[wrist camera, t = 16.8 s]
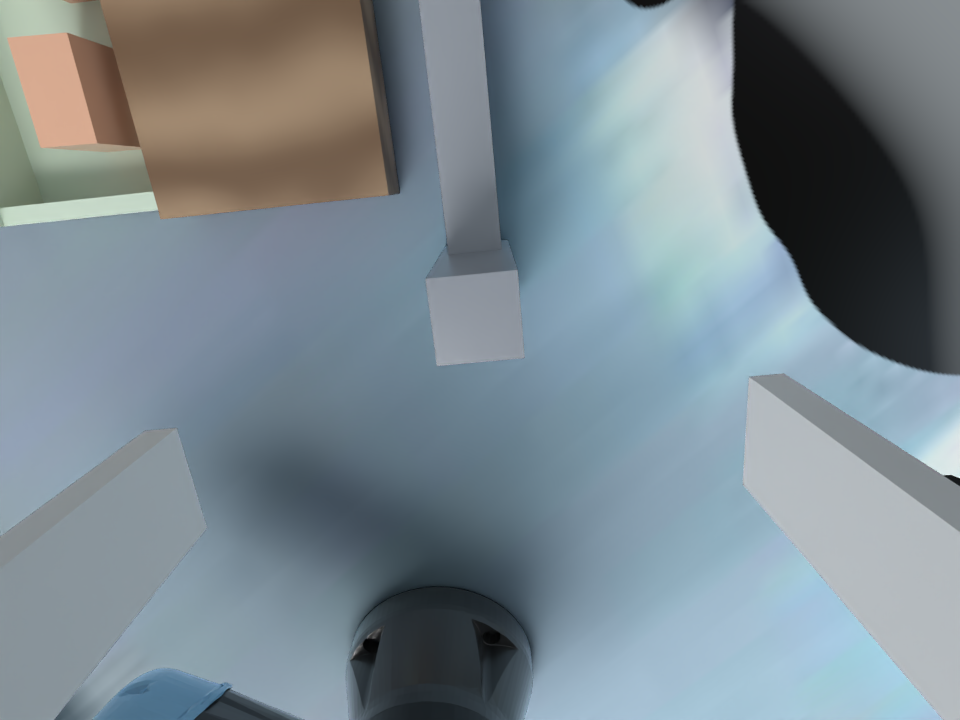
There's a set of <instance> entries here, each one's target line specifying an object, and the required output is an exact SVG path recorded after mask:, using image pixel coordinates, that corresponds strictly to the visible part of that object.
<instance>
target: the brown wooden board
mask: <svg viewBox="0 0 960 720" xmlns="http://www.w3.org/2000/svg"><path fill="white" fill-rule="evenodd" d="M100 4H101V7H102V11H103V15H104V18H105V22H106V25H107V29H108V32H109V36H110V40H111V43H112V47H113V50H114V54H115V57H116V61H117V65H118V68H119V72H120V75H121V79H122V82H123V86H124V90H125V93H126V97H127V100H128V104H129V108H130V111H131V115H132V118H133V122H134V125H135V129H136V133H137V136H138V140H139V143H140V147H141V150H142V154H143V158H144V161H145V165H146V168H147V172H148V175H149V179H150V183H151V186H152V190H153V193H154V197H155V201H156V204H157V208H158V211H159V215H160V218H161V219H168V218H178V217H187V216H197V215H206V214H216V213H225V212H235V211H244V210H254V209H263V208H272V207H282V206H291V205H301V204H310V203H320V202H329V201H339V200H348V199H358V198H367V197H377V196H386V195H393V194H399V193H400V192H399V185H398V178H397V171H396V164H395V157H394V150H393V143H392V135H391V128H390V121H389V114H388V107H387V100H386V93H385V86H384V79H383V72H382V65H381V58H380V50H379V43H378V36H377V29H376V22H375V15H374V8H373V1H372V0H100Z"/></svg>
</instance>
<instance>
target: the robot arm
mask: <svg viewBox="0 0 960 720" xmlns="http://www.w3.org/2000/svg"><path fill="white" fill-rule="evenodd" d="M743 486H744V487H745V488H746V489H747V490H748V491H749V493H750V494H751V495H752V496H753V497H754V498H755V500H756V501H757V502H758V503H759V504H760V506H761V507H762V508H763V509H764V510H765V511H766V513H767V514H768V515H769V516H770V517H771V518H772V520H773V521H774V522H775V523H776V524H777V525H778V527H779V528H780V529H781V530H782V531H783V533H784V534H785V535H786V536H787V537H788V538H789V540H790V541H791V542H792V543H793V544H794V545H795V547H796V548H797V549H798V550H799V551H800V553H801V554H802V555H803V556H804V557H805V558H806V560H807V561H808V562H809V563H810V564H811V565H812V567H813V568H814V569H815V570H816V571H817V573H818V574H819V575H820V576H821V577H822V578H823V580H824V581H825V582H826V583H827V584H828V585H829V587H830V588H831V589H832V590H833V591H834V592H835V594H836V595H837V596H838V597H839V598H840V600H841V601H842V602H843V603H844V604H845V605H846V607H847V608H848V609H849V610H850V611H851V612H852V614H853V615H854V616H855V617H856V618H857V620H858V621H859V622H860V623H861V624H862V625H863V627H864V628H865V629H866V630H867V631H868V632H869V634H870V635H871V636H872V637H873V638H874V639H875V641H876V642H877V643H878V644H879V645H880V647H881V648H882V649H883V650H884V651H885V652H886V654H887V655H888V656H889V657H890V658H891V659H892V661H893V662H894V663H895V664H896V665H897V667H898V668H899V669H900V670H901V671H902V672H903V674H904V675H905V676H906V677H907V678H908V679H909V681H910V682H911V683H912V684H913V685H914V686H915V688H916V689H917V690H918V691H919V692H920V694H921V695H922V696H923V697H924V698H925V699H926V701H927V702H928V703H929V704H930V705H931V706H932V708H933V709H934V710H935V711H936V712H937V714H938V715H939V716H940V717H941V718H942V719H943V720H960V478H957V477H955V476H952V475H944V476H943V475H941V474H940V473H938V472H937V471H935V470H934V469H932V468H930V467H929V466H927V465H926V464H924V463H923V462H921V461H920V460H918V459H916V458H915V457H913V456H912V455H910V454H909V453H907V452H905V451H904V450H902V449H901V448H899V447H898V446H896V445H895V444H893V443H891V442H890V441H888V440H887V439H885V438H884V437H882V436H881V435H879V434H877V433H876V432H874V431H873V430H871V429H870V428H868V427H867V426H865V425H863V424H862V423H860V422H859V421H857V420H856V419H854V418H852V417H851V416H849V415H848V414H846V413H845V412H843V411H842V410H840V409H838V408H837V407H835V406H834V405H832V404H831V403H829V402H828V401H826V400H824V399H823V398H821V397H820V396H818V395H817V394H815V393H814V392H812V391H810V390H809V389H807V388H806V387H804V386H803V385H801V384H799V383H798V382H796V381H795V380H793V379H792V378H790V377H789V376H787V375H785V374H773V375H762V376H751V377H749V385H748V402H747V419H746V436H745V453H744V470H743ZM206 529H207V526H206V522H205V519H204V516H203V513H202V509H201V506H200V503H199V499H198V496H197V493H196V489H195V486H194V483H193V479H192V476H191V473H190V470H189V466H188V463H187V460H186V456H185V453H184V450H183V446H182V443H181V440H180V436H179V433H178V430H177V428H170V429H159V430H147V431H144V432H143V433H141V434H140V435H138V436H137V437H136V438H134V439H133V440H132V441H130V442H129V443H127V444H126V445H125V446H123V447H122V448H121V449H119V450H118V451H117V452H115V453H114V454H112V455H111V456H110V457H108V458H107V459H106V460H104V461H103V462H102V463H100V464H99V465H97V466H96V467H95V468H93V469H92V470H91V471H89V472H88V473H86V474H85V475H84V476H82V477H81V478H80V479H78V480H77V481H76V482H74V483H73V484H71V485H70V486H69V487H67V488H66V489H65V490H63V491H62V492H61V493H59V494H58V495H56V496H55V497H54V498H52V499H51V500H50V501H48V502H47V503H45V504H44V505H43V506H41V507H40V508H39V509H37V510H36V511H35V512H33V513H32V514H30V515H29V516H28V517H26V518H25V519H24V520H22V521H21V522H20V523H18V524H17V525H15V526H14V527H13V528H11V529H10V530H9V531H7V532H6V533H4V534H3V535H2V536H0V720H54V719H55V718H56V716H57V715H58V714H59V713H60V711H61V710H62V709H63V708H64V706H65V705H66V704H67V703H68V701H69V700H70V699H71V698H72V696H73V695H74V694H75V693H76V691H77V690H78V689H79V688H80V686H81V685H82V684H83V683H84V681H85V680H86V679H87V678H88V676H89V675H90V674H91V673H92V672H93V670H94V669H95V668H96V667H97V665H98V664H99V663H100V662H101V660H102V659H103V658H104V657H105V655H106V654H107V653H108V652H109V650H110V649H111V648H112V647H113V645H114V644H115V643H116V642H117V640H118V639H119V638H120V637H121V635H122V634H123V633H124V632H125V630H126V629H127V628H128V627H129V625H130V624H131V623H132V622H133V620H134V619H135V618H136V617H137V615H138V614H139V613H140V612H141V610H142V609H143V608H144V607H145V605H146V604H147V603H148V602H149V600H150V599H151V598H152V597H153V595H154V594H155V593H156V592H157V590H158V589H159V588H160V587H161V585H162V584H163V583H164V582H165V580H166V579H167V578H168V577H169V575H170V574H171V573H172V572H173V570H174V569H175V568H176V567H177V565H178V564H179V563H180V562H181V560H182V559H183V558H184V557H185V556H186V554H187V553H188V552H189V551H190V549H191V548H192V547H193V546H194V544H195V543H196V542H197V541H198V539H199V538H200V537H201V536H202V534H203V533H204V532H205V531H206ZM532 684H533V670H532V659H531V650H530V646H529V642H528V639H527V637H526V635H525V633H524V631H523V629H522V627H521V626H520V624H519V623H518V622H517V621H516V619H515V618H514V617H513V616H512V615H511V614H510V613H509V612H508V611H506V610H505V609H504V608H503V607H501V606H500V605H498V604H497V603H495V602H493V601H492V600H490V599H488V598H486V597H484V596H481V595H479V594H476V593H473V592H470V591H466V590H461V589H456V588H447V587H429V588H420V589H415V590H411V591H407V592H404V593H401V594H398V595H396V596H393V597H391V598H389V599H388V600H386V601H384V602H382V603H381V604H379V605H378V606H377V607H375V608H374V609H373V610H372V611H371V612H370V613H369V614H368V615H367V616H366V617H365V618H364V620H363V621H362V623H361V624H360V626H359V627H358V629H357V631H356V634H355V636H354V640H353V643H352V647H351V650H350V654H349V657H348V661H347V668H346V687H347V700H348V713H349V720H524V719H525V715H526V711H527V708H528V704H529V700H530V697H531V692H532ZM231 688H232V685H231V684H229V683H222V684H217V683H214V682H211V681H208V680H205V679H202V678H200V677H197V676H194V675H191V674H188V673H185V672H182V671H179V670H176V669H170V668H162V669H156V670H152V671H149V672H147V673H145V674H143V675H141V676H139V677H137V678H136V679H134V680H133V681H132V682H130V683H129V684H128V685H127V686H125V687H124V688H123V689H122V690H121V691H120V692H119V693H117V694H116V695H115V696H114V697H113V698H112V699H111V700H110V701H109V702H108V703H107V704H106V705H105V706H104V707H103V709H102V710H101V711H100V712H99V713H98V714H97V715H96V716H95V717H94V718H93V719H92V720H304V719H301V718H299V717H296V716H294V715H291V714H289V713H286V712H284V711H281V710H279V709H276V708H274V707H271V706H269V705H266V704H264V703H261V702H259V701H256V700H254V699H252V698H249V697H247V696H244V695H242V694H240V693H237V692H235V691H233V690H230V689H231Z"/></svg>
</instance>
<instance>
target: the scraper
mask: <svg viewBox="0 0 960 720" xmlns="http://www.w3.org/2000/svg"><path fill="white" fill-rule="evenodd" d="M419 8H420V17H421V25H422V34H423V42H424V51H425V59H426V68H427V76H428V85H429V93H430V102H431V110H432V119H433V127H434V136H435V144H436V153H437V161H438V170H439V178H440V187H441V195H442V203H443V212H444V220H445V229H446V237H447V246H445V248H444V249H443V251H442V253H441V254H440V256H439V257H438V259H437V261H436V262H435V264H434V266H433V267H432V269H431V270H430V272H429V274H428V275H427V277H426V279H425V281H426V288H427V296H428V303H429V311H430V318H431V326H432V333H433V341H434V348H435V356H436V363H437V366H444V365H455V364H466V363H477V362H488V361H499V360H510V359H521V358H525V356H524V343H523V331H522V318H521V305H520V292H519V279H518V269H517V266H516V263H515V260H514V257H513V254H512V251H511V248H510V245H509V242H508V240H501V236H500V224H499V213H498V201H497V190H496V178H495V167H494V155H493V143H492V132H491V120H490V109H489V97H488V86H487V74H486V63H485V51H484V40H483V28H482V16H481V5H480V0H419Z"/></svg>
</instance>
